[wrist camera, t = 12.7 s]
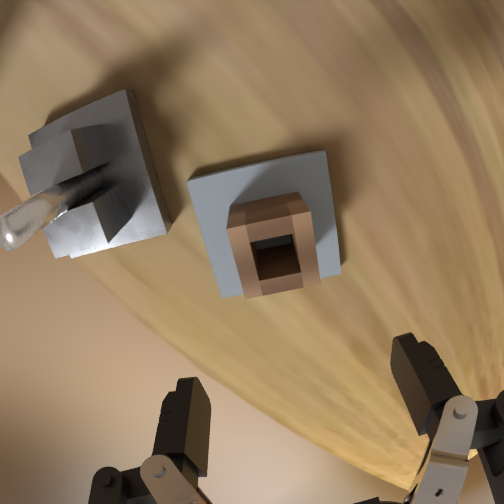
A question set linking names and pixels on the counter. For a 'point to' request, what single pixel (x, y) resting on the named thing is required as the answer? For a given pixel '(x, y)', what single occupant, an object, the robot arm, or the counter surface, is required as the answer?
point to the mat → (259, 187)
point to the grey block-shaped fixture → (89, 182)
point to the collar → (279, 257)
